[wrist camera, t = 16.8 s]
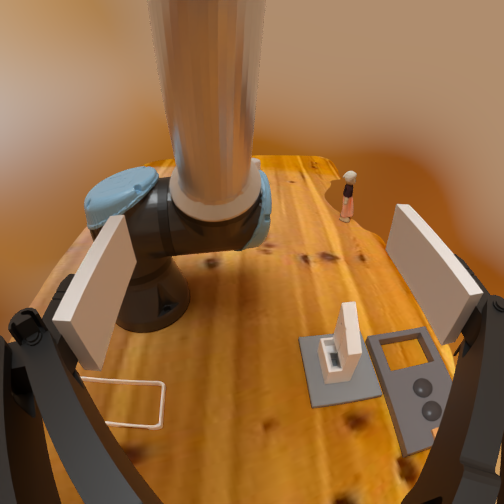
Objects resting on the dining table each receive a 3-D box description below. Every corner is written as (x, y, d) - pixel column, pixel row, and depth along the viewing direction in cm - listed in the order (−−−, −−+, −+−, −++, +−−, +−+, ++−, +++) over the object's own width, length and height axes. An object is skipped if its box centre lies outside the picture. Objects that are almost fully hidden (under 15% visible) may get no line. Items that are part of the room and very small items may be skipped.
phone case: (166, 385, 39) (77, 380, 39) (164, 380, 39) (73, 375, 38) (163, 431, 33) (67, 420, 33) (160, 427, 33) (62, 416, 32)
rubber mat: (298, 339, 45) (298, 337, 45) (359, 332, 46) (359, 330, 46) (311, 408, 36) (312, 406, 35) (381, 396, 36) (382, 394, 36)
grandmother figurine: (354, 225, 73) (361, 177, 66) (339, 223, 73) (345, 175, 66) (350, 210, 79) (357, 166, 72) (337, 209, 80) (342, 165, 72)
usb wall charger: (260, 171, 103) (260, 160, 101) (244, 175, 100) (244, 164, 97) (252, 168, 106) (252, 157, 103) (237, 172, 102) (236, 161, 100)
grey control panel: (365, 342, 44) (368, 334, 43) (422, 332, 45) (426, 324, 44) (403, 457, 28) (409, 453, 27) (466, 432, 28) (473, 427, 27)
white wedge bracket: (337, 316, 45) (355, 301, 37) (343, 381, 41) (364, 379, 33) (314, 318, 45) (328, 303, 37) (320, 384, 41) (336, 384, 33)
